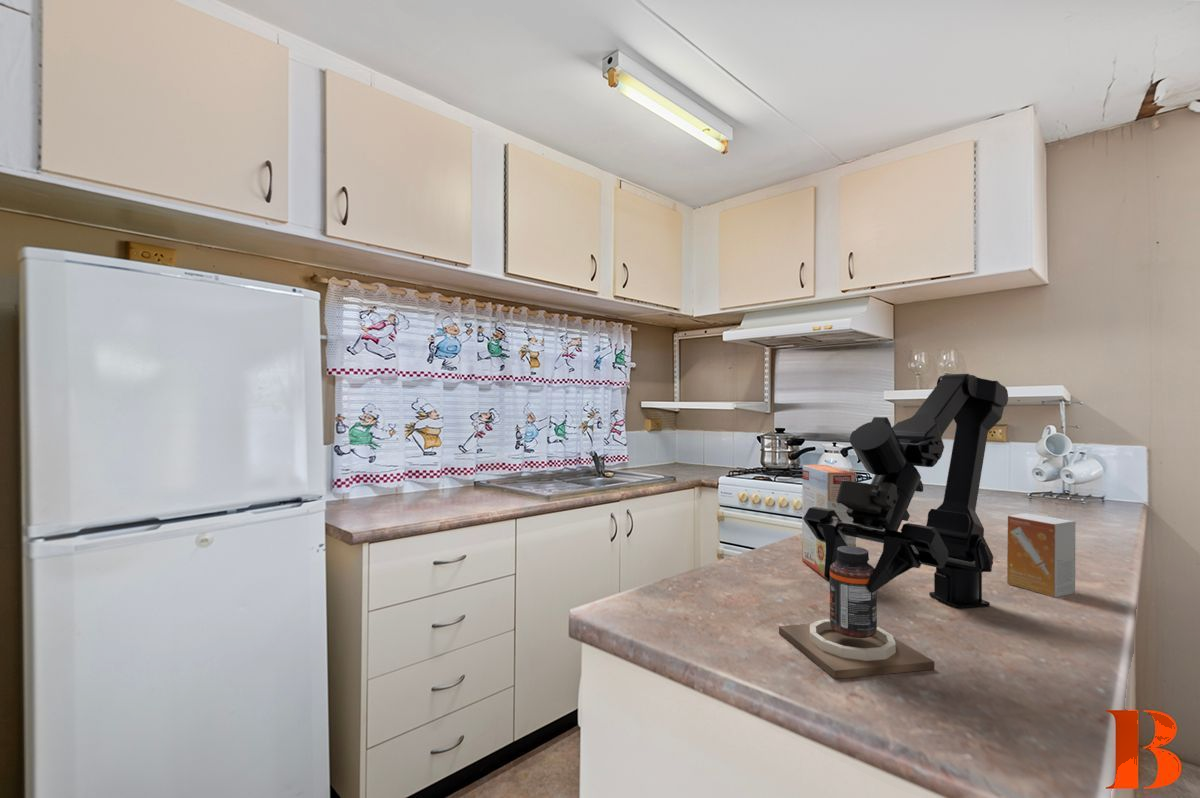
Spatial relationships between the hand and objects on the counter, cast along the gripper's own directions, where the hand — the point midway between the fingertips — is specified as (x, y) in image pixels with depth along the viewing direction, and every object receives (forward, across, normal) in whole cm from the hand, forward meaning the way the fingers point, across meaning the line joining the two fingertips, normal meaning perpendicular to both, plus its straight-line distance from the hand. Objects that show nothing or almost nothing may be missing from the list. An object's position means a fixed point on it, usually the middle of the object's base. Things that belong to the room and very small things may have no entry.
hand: (847, 584), depth 77 cm
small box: (-31, +6, +45) cm, 54 cm away
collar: (+6, 0, +7) cm, 9 cm away
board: (+6, 0, +7) cm, 9 cm away
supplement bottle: (+4, 0, +6) cm, 7 cm away
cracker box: (-15, -23, +29) cm, 40 cm away
